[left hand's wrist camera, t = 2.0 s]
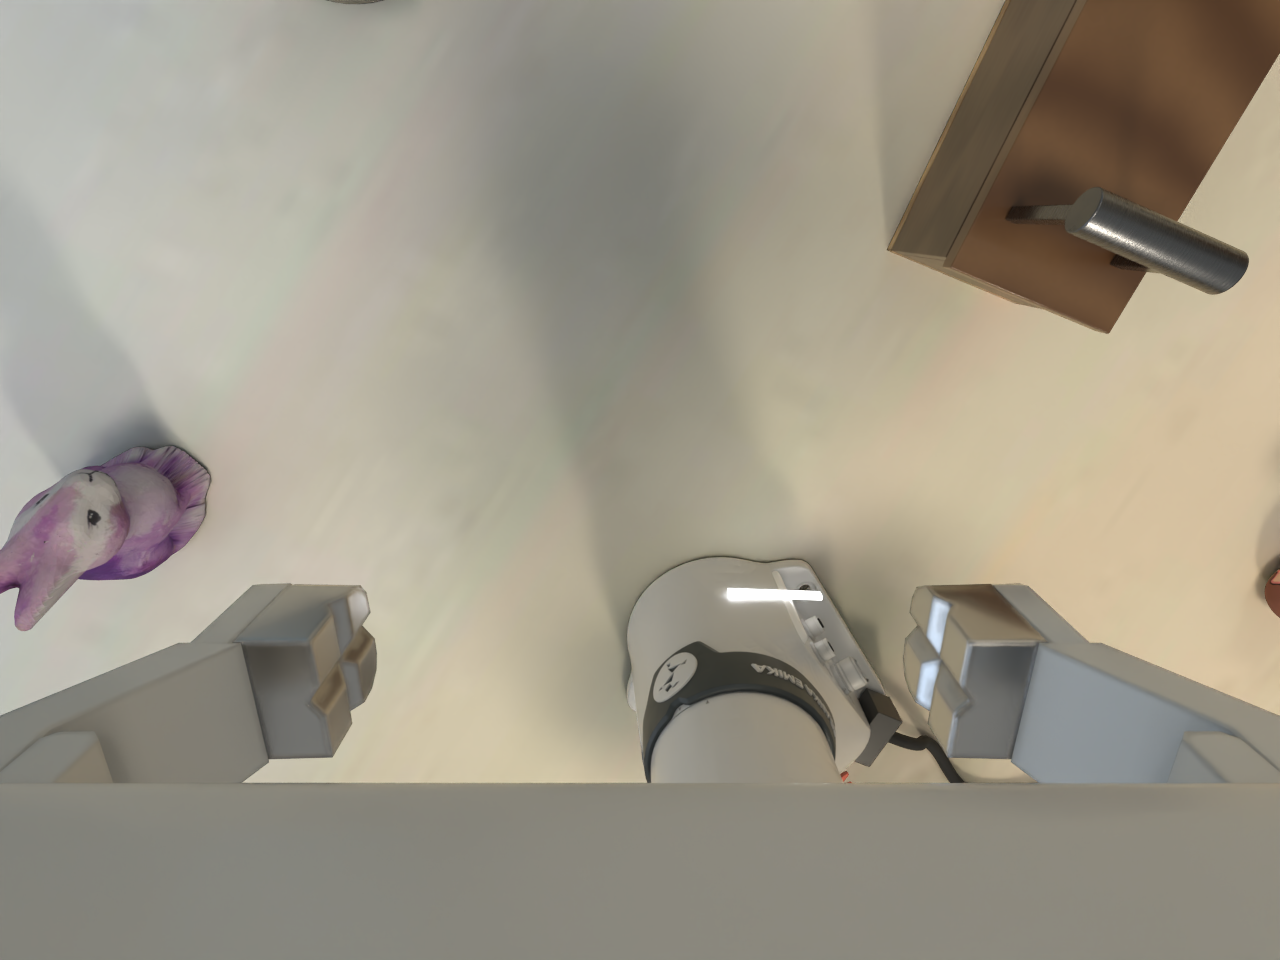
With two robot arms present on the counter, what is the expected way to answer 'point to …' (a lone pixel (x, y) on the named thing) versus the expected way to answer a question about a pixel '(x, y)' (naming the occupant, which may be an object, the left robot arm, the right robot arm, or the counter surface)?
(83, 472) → the figurine
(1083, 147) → the lid
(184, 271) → the counter surface
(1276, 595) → the black wheeled rover
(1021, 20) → the chest
